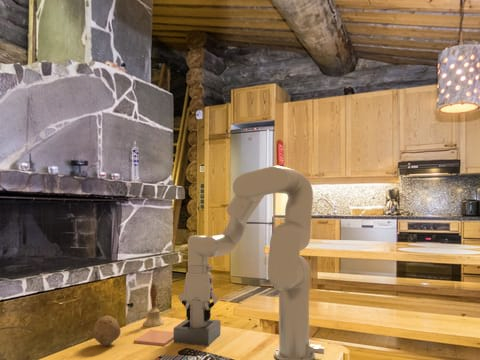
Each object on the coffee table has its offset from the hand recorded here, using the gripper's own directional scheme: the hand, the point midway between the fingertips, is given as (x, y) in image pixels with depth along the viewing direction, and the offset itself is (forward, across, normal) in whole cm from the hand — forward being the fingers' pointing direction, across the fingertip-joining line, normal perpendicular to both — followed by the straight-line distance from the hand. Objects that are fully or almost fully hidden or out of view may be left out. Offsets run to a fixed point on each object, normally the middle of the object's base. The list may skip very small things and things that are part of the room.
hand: (198, 319), depth 140 cm
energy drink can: (+7, 0, 0) cm, 7 cm away
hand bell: (+7, +24, -12) cm, 28 cm away
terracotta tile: (+7, +14, +4) cm, 16 cm away
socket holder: (+7, 0, 0) cm, 7 cm away
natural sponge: (+7, +28, +15) cm, 33 cm away
